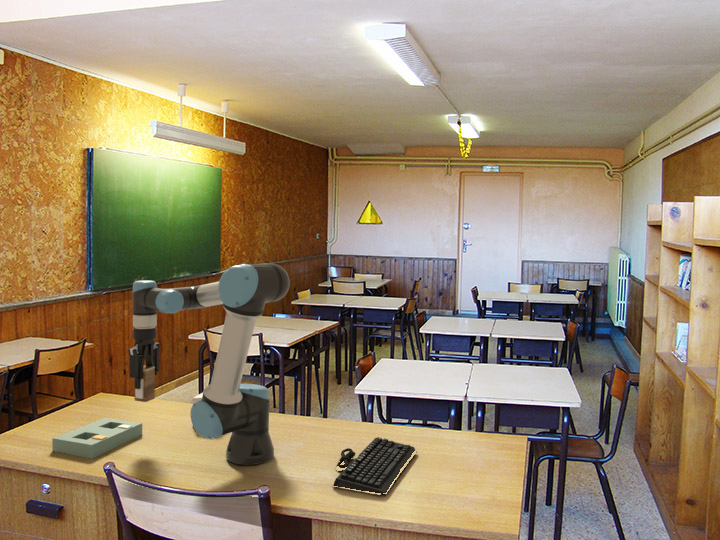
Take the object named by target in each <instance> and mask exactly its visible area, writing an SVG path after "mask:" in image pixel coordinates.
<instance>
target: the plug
mask: <svg viewBox="0 0 720 540" xmlns="http://www.w3.org/2000/svg"><path fill="white" fill-rule="evenodd" d="M155 368H156V367H155V366H146V364H144V366H143V373H142V379H144V398H143V399H140V398H135V397H134V401H135V402H142V403H143V402H144V403H147V402H149V401H152V400H154V399H156V397H155V395H156V394H155V391H156V390H155V384H156V383H155V379H156V378H155V376H156V375H155Z"/></svg>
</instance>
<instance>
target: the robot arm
mask: <svg viewBox="0 0 720 540" xmlns="http://www.w3.org/2000/svg"><path fill="white" fill-rule="evenodd" d="M290 284H291V281H290V277H289V274H288V272H287V271H286V269H285V268H283V267H282V266H281V265H279V264H276V263H271V262H268V263H267V262H266V263H249V264H248V263H241V264H238V265H233V266H230V267H229V268H227V269H226V270H224V272H223V273H222V274H221V277H220V279H219V281H215V282H210V283H206V284H200V285H196V286H185V287H173V288H172V287H171V288H159V287H158V285H157V282H156V281H155V280H145V279H144V280H136V281H134V282H133V283H132V293H131V296H132V298H131V299H132V326H133V328H132V339H133V340H134V345H133V347H132V348H128V350H127V352H128V356H129V378H130V379H134V399H135V398H140V399H143V398H144V379H142V373H143V366H144V365H146V366H155V376H157V375H158V372H159V371H160V348H161V343H160V342H155V339H157V332H158V331H157V326H158V325H157V324H158V322H157V320H158V316H157V312H159V313H162V314H176V313H179V312H180V311H187V310H194V309H195V310H196V309H205V308H209V307H213V306H218V305H222V308H223V309H224V311H225V313H226V314H225V318H224V323H223V327H222V328H223V329H222V332H221V336H220V340H219V346H218V349H217V354H216V359H215V363H214V367H213V371H212V374H211V375H212V376H211V381H210V384H208V385H207V386H206V387H205V388H204V389H203V391H202V393H203V396H202V400H201V401H197V402H196V403H194V404H193V403H192V406H191V408H190V421H191V423H192V427H193V426H194V428H193V429H194V430H195V432H196V433H197V435H199V436H200V437H202V438H204V439H208V440H211V439H216V438H220V437H222V436H225V435H226V434H227V435H228V434H231V435H230V438H229V441H228V445H227V447H226V451H225V458H226V460H227V461H228V462H231V463H233V464H238V465H248V466H249V465H250V466H251V465H259V464H263V463H266V462H268V461H271V460H272V459H273V458H274V455H275V447H274V445H273V441H272V439H271V434H270V431H269V430H270V427H269V426H270V401H271V399H270V392H269V389H268V388H267V387H266V386H264V385H261V384H253V383H242V379H243V374H244V370H245V367H246V363H247V357H248V354H249V351H250V350H249V349H250V346H251V341H252V337H253V333H254V329H255V325H256V320H257V319H258V318H260V317H261V316H263V313H264V310H265V305H266V304H268V303H269V304H270V303H274V302H278V301H280V300H282V299H283V298H285V296H286V295H287V293H288V292H289V290H290Z"/></svg>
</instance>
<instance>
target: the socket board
mask: <svg viewBox="0 0 720 540" xmlns="http://www.w3.org/2000/svg"><path fill="white" fill-rule="evenodd" d="M142 435H143V423H142V422H136V421H130V420H122V419H117V418H110V417H103V418H101V419H97V420H96V421H93V422H91V423H89V424H86V425H83V426H81V427H78V428H75V429H73V430H70V431H68V432H64V433H62V434H60V435H57V436H55V437H53V438H52V437H51V441H52V442H51V447H52V449H51V450H52V452H53V451H55V452H54V453H59V452H62V453H61V454H64V453H66V454H65V455H69V454H71V455H70V456H75V455H76V456H75V457H80V456H81V458H86V459H91V460H93V459H95V458H96V457H99V456H102V455H103V454H105V453H107V452H110V451H111V450H113V449H116V448H117V447H120V446H122V445H123V444H126V443H128V442H131V441H132V440H134V439H136V438H139V437H141V436H142Z"/></svg>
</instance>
